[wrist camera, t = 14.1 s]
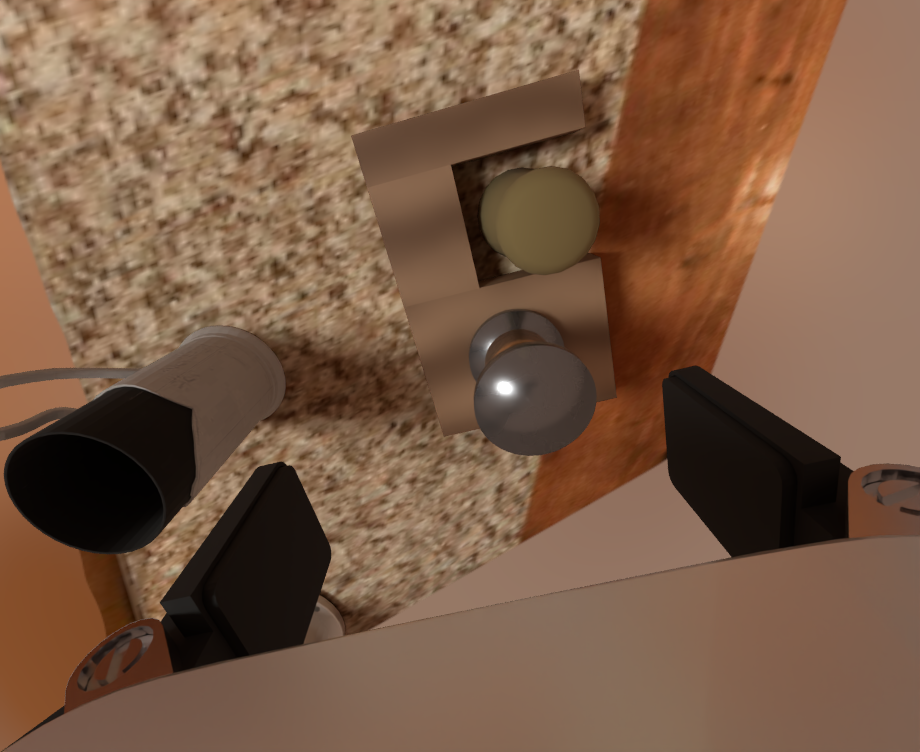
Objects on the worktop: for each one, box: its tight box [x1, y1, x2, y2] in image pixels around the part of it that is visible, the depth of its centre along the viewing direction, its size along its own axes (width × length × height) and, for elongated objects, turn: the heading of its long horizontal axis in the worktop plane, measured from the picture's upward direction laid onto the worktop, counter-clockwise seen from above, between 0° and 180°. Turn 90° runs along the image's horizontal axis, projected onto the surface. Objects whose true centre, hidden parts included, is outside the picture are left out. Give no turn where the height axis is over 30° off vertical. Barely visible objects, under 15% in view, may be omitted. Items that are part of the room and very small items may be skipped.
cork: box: [478, 166, 600, 275], centre depth 25 cm, size 6×6×11 cm
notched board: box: [351, 70, 617, 437], centre depth 31 cm, size 22×14×2 cm, turn 14°
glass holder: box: [0, 326, 286, 554], centre depth 27 cm, size 9×14×15 cm, turn 68°
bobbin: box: [469, 309, 597, 456], centre depth 28 cm, size 7×7×8 cm
